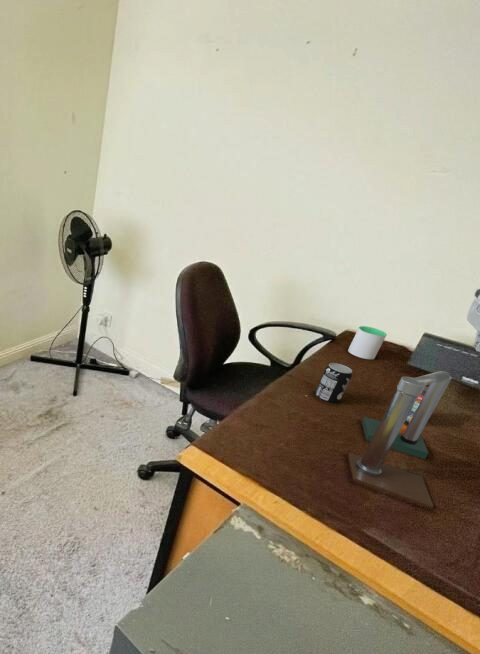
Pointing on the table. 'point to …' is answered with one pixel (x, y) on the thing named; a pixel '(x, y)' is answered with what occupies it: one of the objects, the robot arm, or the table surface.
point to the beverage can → (333, 382)
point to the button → (403, 429)
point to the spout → (428, 402)
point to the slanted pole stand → (371, 464)
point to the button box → (399, 445)
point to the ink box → (416, 405)
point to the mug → (367, 342)
